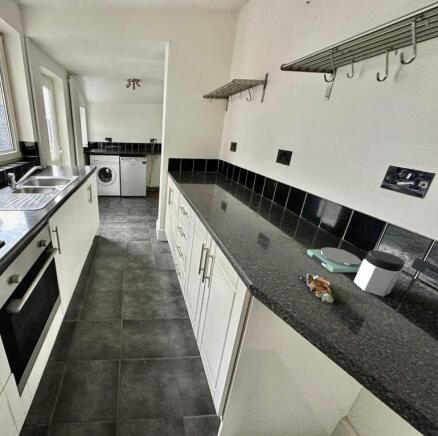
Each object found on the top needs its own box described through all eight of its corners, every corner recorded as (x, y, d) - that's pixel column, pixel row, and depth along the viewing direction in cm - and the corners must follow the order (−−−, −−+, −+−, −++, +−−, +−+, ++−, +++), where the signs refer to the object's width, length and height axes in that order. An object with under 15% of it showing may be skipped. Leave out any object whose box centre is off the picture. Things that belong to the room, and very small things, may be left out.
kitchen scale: (340, 254, 95) (343, 249, 94) (370, 273, 83) (373, 267, 82) (305, 254, 94) (307, 249, 93) (330, 273, 82) (333, 268, 81)
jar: (379, 300, 70) (397, 267, 65) (348, 284, 77) (362, 253, 72) (393, 292, 74) (411, 260, 69) (363, 278, 80) (377, 248, 76)
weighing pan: (340, 249, 93) (341, 247, 93) (368, 266, 82) (369, 264, 82) (312, 249, 93) (313, 247, 92) (336, 266, 82) (337, 264, 81)
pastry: (318, 303, 68) (322, 293, 67) (298, 278, 79) (301, 269, 78) (343, 305, 67) (348, 295, 66) (319, 280, 78) (323, 271, 77)
